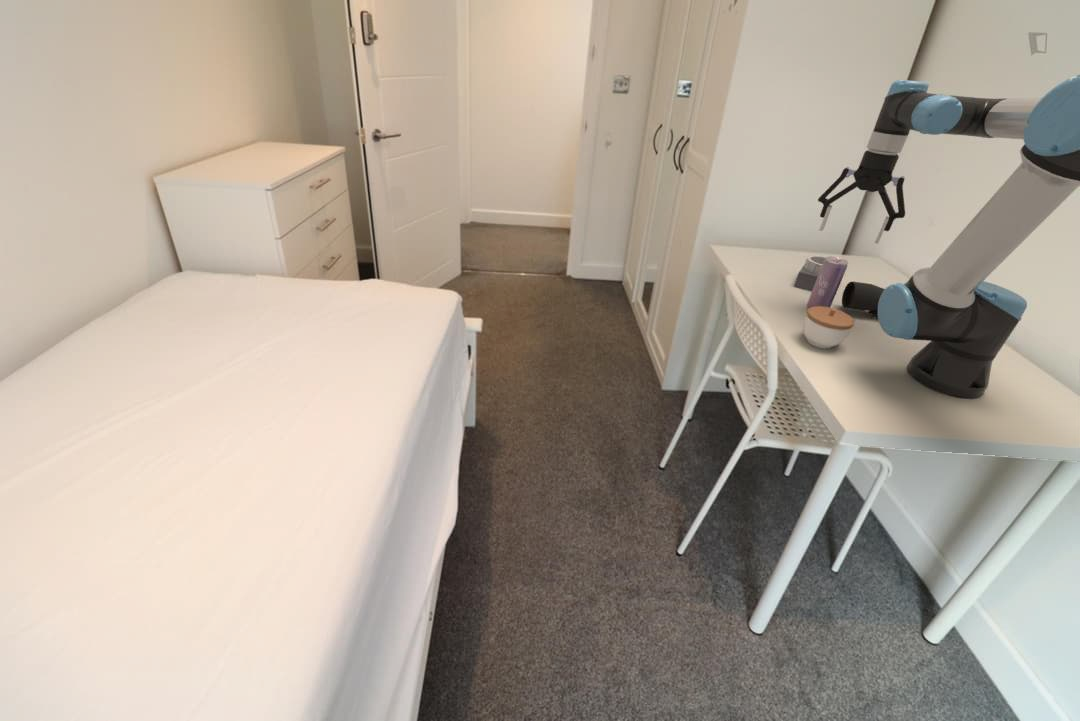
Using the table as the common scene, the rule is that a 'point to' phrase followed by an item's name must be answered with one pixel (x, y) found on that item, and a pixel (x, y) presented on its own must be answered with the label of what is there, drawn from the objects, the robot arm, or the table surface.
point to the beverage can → (827, 282)
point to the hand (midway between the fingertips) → (848, 236)
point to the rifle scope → (862, 297)
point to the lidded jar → (826, 326)
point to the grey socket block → (809, 272)
